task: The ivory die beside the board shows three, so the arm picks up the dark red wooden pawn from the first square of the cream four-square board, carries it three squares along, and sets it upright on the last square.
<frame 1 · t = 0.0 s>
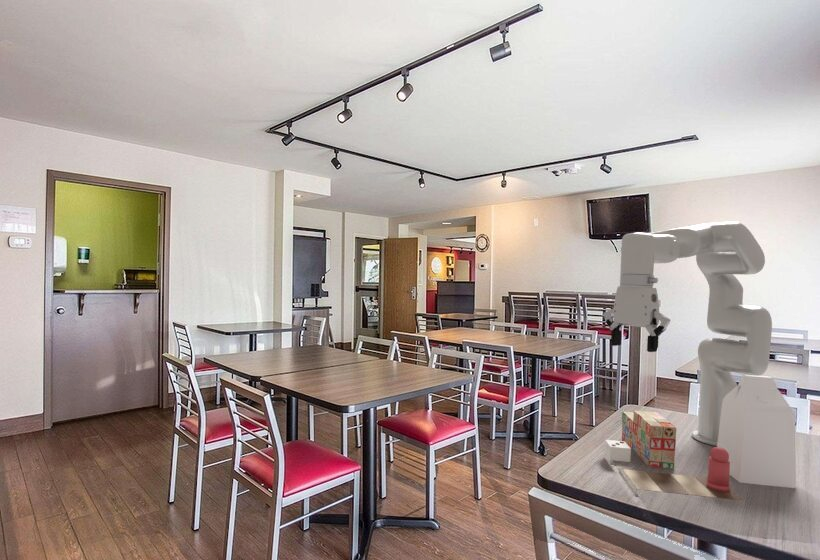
hand: (633, 348, 113), 31 cm above the table, tool pointing down, fingers open, 9 cm apart
milk: (752, 481, 110), on the table
pawn: (718, 487, 102), point 1 cm above the table, touching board
stack of blocks: (645, 457, 123), on the table
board: (679, 489, 103), on the table
die: (616, 462, 118), on the table
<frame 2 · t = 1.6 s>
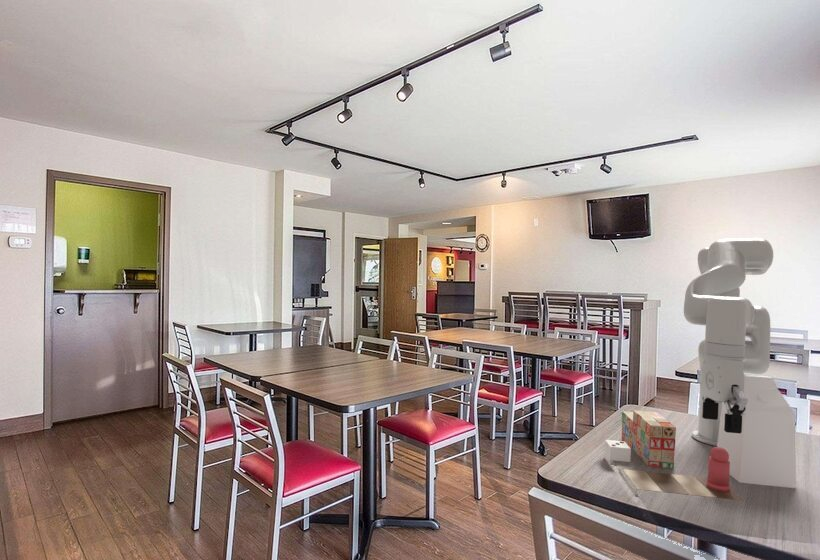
hand: (720, 425, 102), 16 cm above the table, tool pointing down, fingers open, 9 cm apart
nothing on the table moved.
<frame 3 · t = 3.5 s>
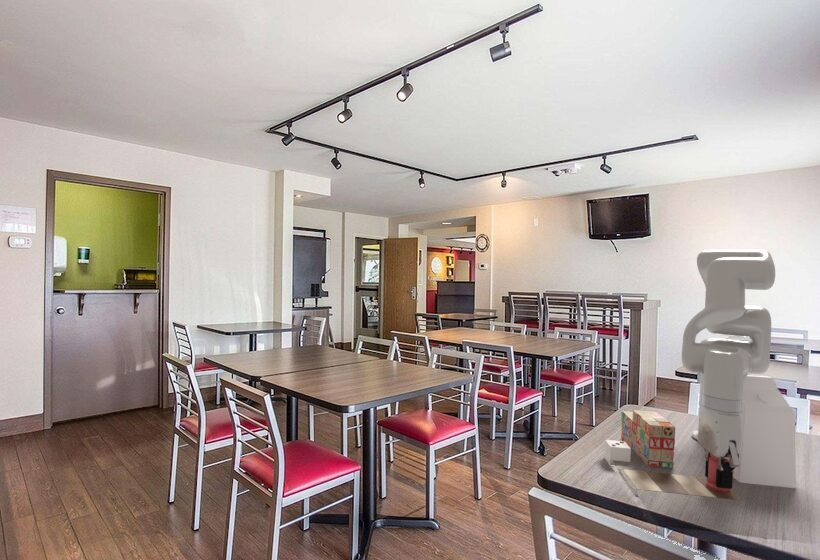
hand: (718, 481, 102), 3 cm above the table, tool pointing down, fingers closed on pawn, 4 cm apart
pawn: (718, 487, 102), point 1 cm above the table, touching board, gripper
everything else where it was.
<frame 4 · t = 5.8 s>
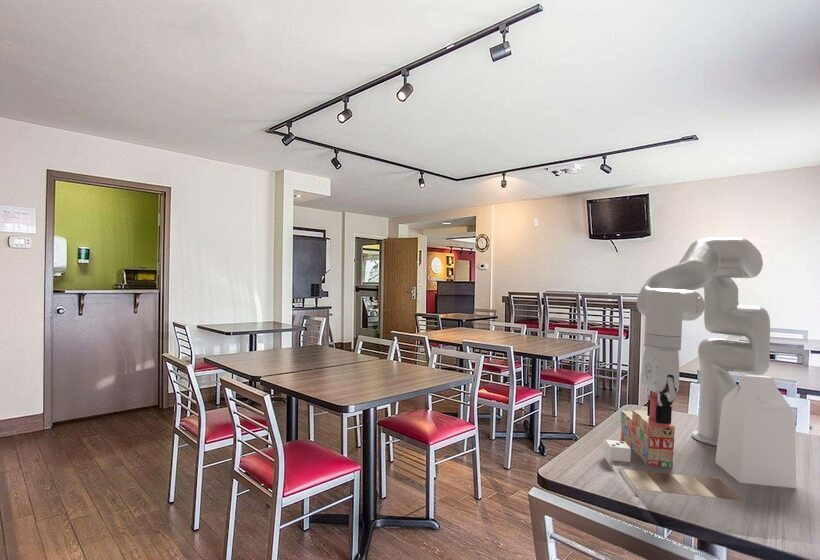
hand: (658, 419, 104), 16 cm above the table, tool pointing down, fingers closed on pawn, 4 cm apart
pawn: (658, 424, 104), point 15 cm above the table, touching gripper
everything else where it was.
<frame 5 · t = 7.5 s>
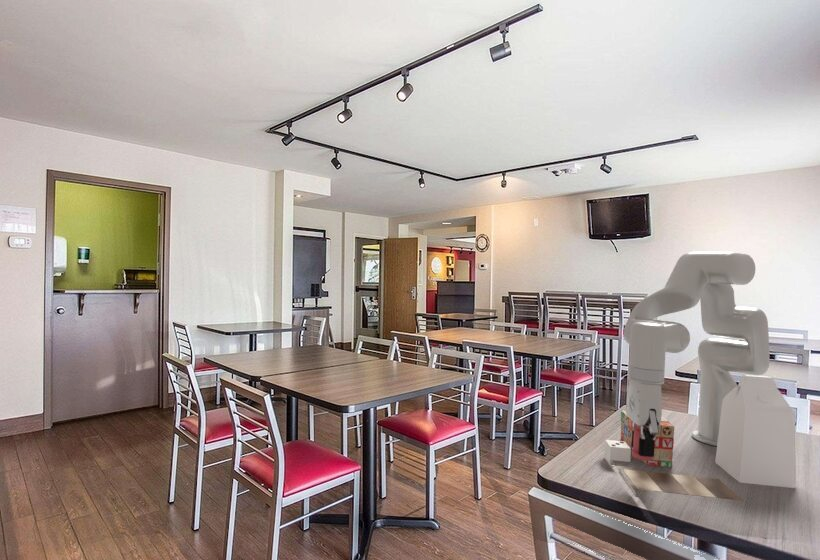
hand: (642, 451, 105), 8 cm above the table, tool pointing down, fingers closed on pawn, 4 cm apart
pawn: (642, 456, 105), point 7 cm above the table, touching gripper
everything else where it was.
when the fingers open (4 cm above the table, at t = 8.6 s): pawn drops 1 cm, resting on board.
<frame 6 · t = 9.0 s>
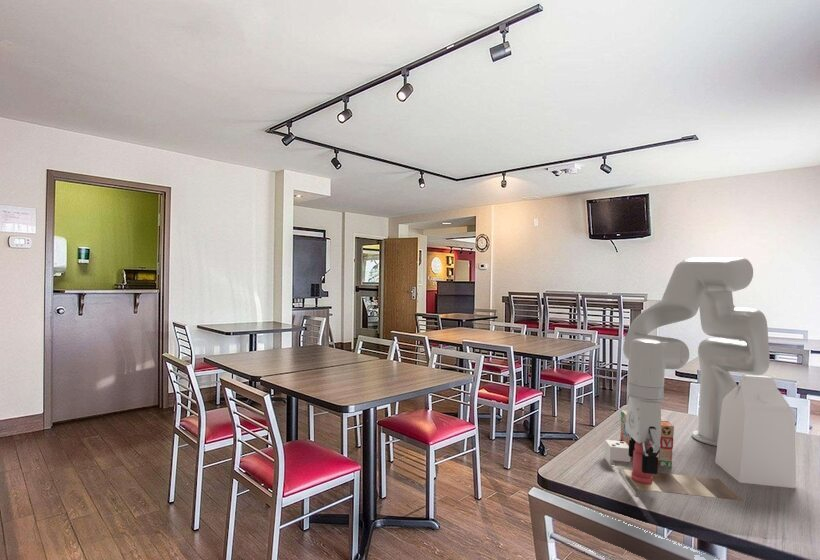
hand: (642, 464, 105), 5 cm above the table, tool pointing down, fingers open, 8 cm apart
pawn: (641, 479, 105), point 1 cm above the table, touching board
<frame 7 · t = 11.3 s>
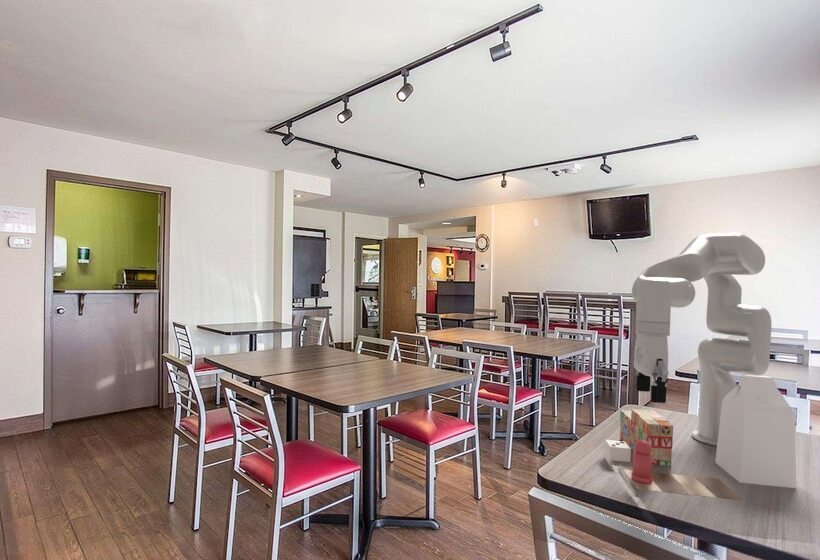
hand: (650, 396, 110), 20 cm above the table, tool pointing down, fingers open, 9 cm apart
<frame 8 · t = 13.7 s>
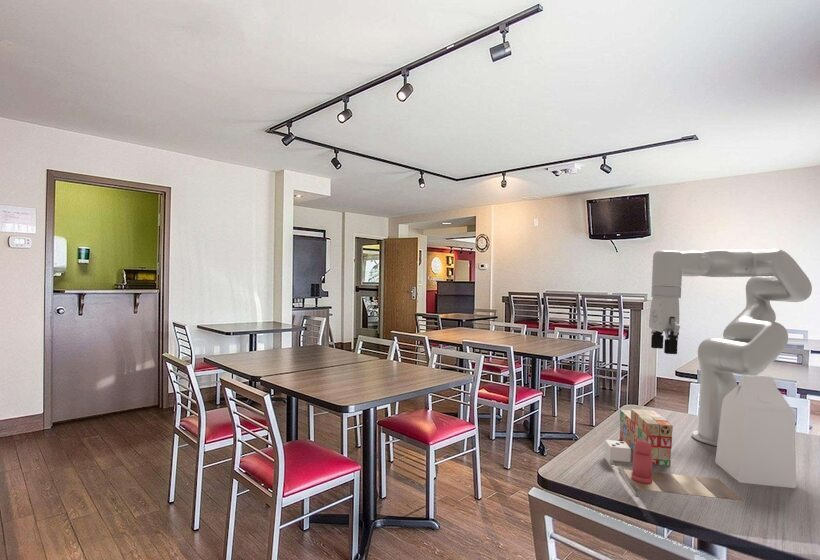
hand: (663, 350, 130), 28 cm above the table, tool pointing down, fingers open, 9 cm apart
at the end: pawn 0.1 cm from the target spot on the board, point 1.4 cm above the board's base; pawn tilted 0°; the gripper is holding nothing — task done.
